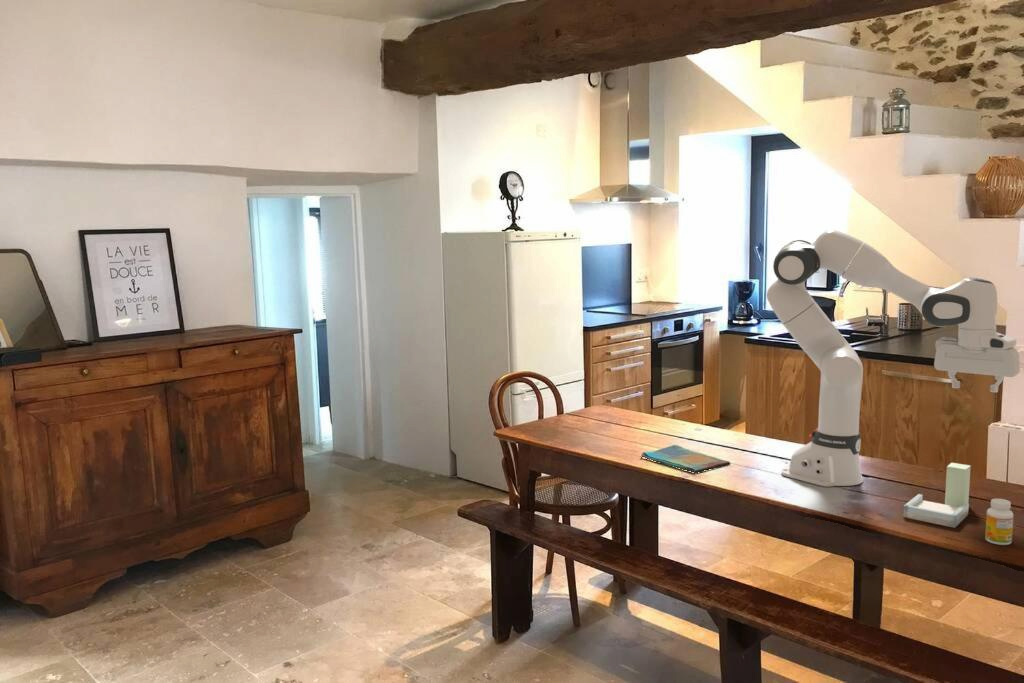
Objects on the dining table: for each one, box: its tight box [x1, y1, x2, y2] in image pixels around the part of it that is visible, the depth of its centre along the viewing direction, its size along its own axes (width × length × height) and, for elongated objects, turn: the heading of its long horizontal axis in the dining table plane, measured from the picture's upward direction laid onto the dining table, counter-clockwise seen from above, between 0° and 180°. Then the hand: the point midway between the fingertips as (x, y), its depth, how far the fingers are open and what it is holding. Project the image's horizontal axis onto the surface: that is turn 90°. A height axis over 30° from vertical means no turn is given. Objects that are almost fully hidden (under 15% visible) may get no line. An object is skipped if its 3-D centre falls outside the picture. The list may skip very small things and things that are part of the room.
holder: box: [902, 493, 970, 529], centre depth 211 cm, size 12×12×3 cm
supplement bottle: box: [984, 498, 1014, 546], centre depth 193 cm, size 5×5×10 cm
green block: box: [944, 462, 971, 507], centre depth 217 cm, size 4×4×11 cm
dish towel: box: [640, 444, 731, 474], centre depth 264 cm, size 17×23×2 cm
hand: (974, 389), depth 222 cm, fingers open, 8 cm apart
